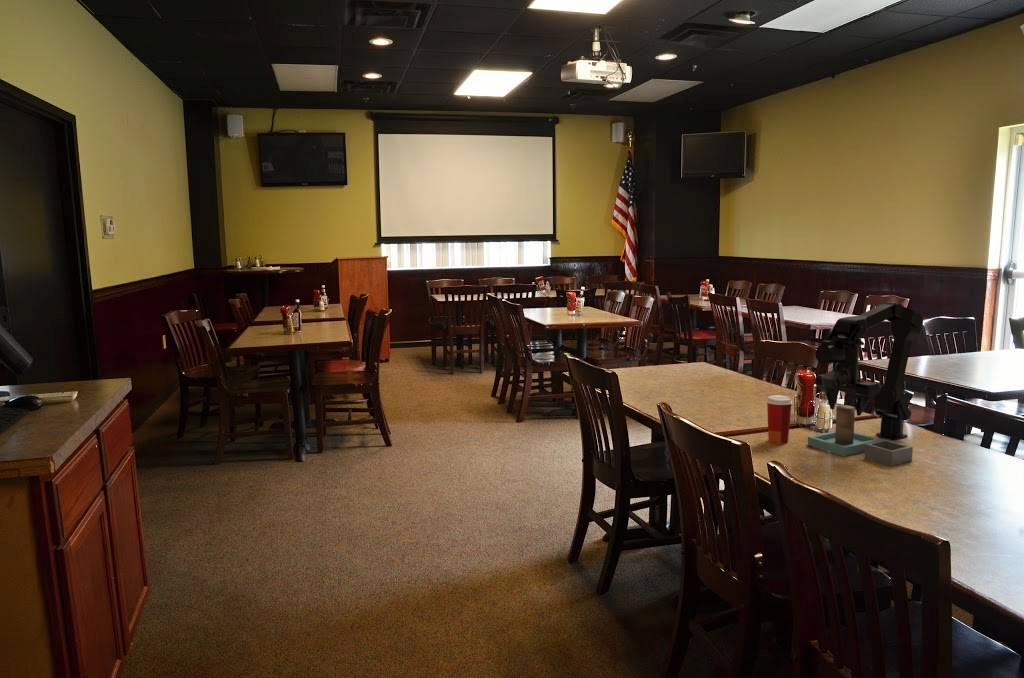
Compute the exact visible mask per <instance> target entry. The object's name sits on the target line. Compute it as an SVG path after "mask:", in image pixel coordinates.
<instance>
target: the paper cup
mask: <svg viewBox="0 0 1024 678" xmlns="http://www.w3.org/2000/svg"><path fill="white" fill-rule="evenodd" d="M765 402H766V409H767V413H766V414H767V433H768V434H767V436H768V437H767V438H768V443H770V442H771V444H774V445H787V444H788V443H789V434H790V426H791V425H790V424H791V415H792V414H791V413H792V412H791V411H792V404H793V403H794V402H793V401H792V398H791V397H789V396H786V395H777V394H776V395H769V396H768V397H767V398H766V400H765Z"/></svg>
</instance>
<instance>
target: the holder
mask: <svg viewBox="0 0 1024 678" xmlns="http://www.w3.org/2000/svg"><path fill="white" fill-rule="evenodd" d="M913 447H914V446H910V445H907V444H903V443H900V442H897V441H892V440H890V439H889V440H888V439H882V440H880V441H876V442H871V443H867V444H865V451H864V452H863V453H864V455H863V457H865V459H868V460H872V461H874V460H875V461H876V462H878V463H882V464H885V465H887V464H888V466H892V467H893V466H896V464H897V465H900V463H901V464H904V463H903V462H905V463H909V462H911V461H913V450H914V448H913ZM908 461H909V462H908Z"/></svg>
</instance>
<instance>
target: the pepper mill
mask: <svg viewBox="0 0 1024 678" xmlns="http://www.w3.org/2000/svg"><path fill="white" fill-rule="evenodd" d="M835 410H836V415H835V431H836V432H835V443H837V444H840V445H851V444H853V439H854V432H855V418H856V417H855V415H856V414H855V413H856V407H855V406H851V405H846V404H845V405H844V404H843V405H842V404H841V405H837V406H836V409H835Z"/></svg>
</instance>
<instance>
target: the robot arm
mask: <svg viewBox="0 0 1024 678" xmlns="http://www.w3.org/2000/svg"><path fill="white" fill-rule="evenodd" d="M884 321H885V322H886V321H888V322H889V323H890V325H889V326H890V327H889V331H890V332H891V334H892V335H891V336H892V337H893V340H892V341H893V342H892V345H891V350H890V355H889V359H888V365H887V367H886V368H887V370H886V374H885V379H884V383H883V384H882V385H881V386H880V384H879V383H877V382H872V381H864V382H861V378H860V377H859V376H858V375H859V374H858V373H859V369H861V368H862V364H860V363H859V352H860V346H864V345H865V343H864V342H863V341H862V340H861V338H862V337H864V336H865V335H866V334H867V333H868V331H869V329H870V328H873V327H874V326H876V325H877V326H878V324H881V323H883V322H884ZM923 324H924V318H923V317H922V315H921V313H919V312H916V311H914V310H913V309H910V308H908V307H905V306H904V305H903V304H902V303H899V302H897V301H896V302H895V301H893V302H892V301H885V302H882V304H880V305H878V306H876V307H873V308H871V309H870V310H867V311H864V312H862V313H861V314H859V315H854V316H851V315H850V316H846V317H841V318H838V319H837V320H836V321H835V323H834V326H833V327H832V329H831V331H830V333H829V335H828V336H827V339H826V340H822V341H821V344H820V345H818V347H817V348H816V350H815V351H814V353H815V358H816V361H817V362H818V363H819V364H821V365H829V364H833V366H832V370H830V371H827V372H826V373H824V374H817V375H816V376H815V378H814V384H815V385H817V387H818V389H821V390H822V391H823V392H824V394H825V396H826V400H827V402H828V406H829V409H831V410H834V409H835V406H836V403H837V396H838V391H839V388H840V387H843V388H847V389H848V388H849V389H853V390H855V391H854V392H856V393H854V396H855V397H856V416H858V417H859V416H861V415H862V413H863V412H864V409H865V408H866V406H867V405H868V403H869V402H870V401H871V399H872V401H873V407H874V408H873V409H874V412H875V416H879V417H881V418H880V419H881V420H880V430H879V432H876V434H875V435H876V436H880V437H883V438H886V439H889V440H899V439H903V438H908V434H905V433H904V421H908V420H910V418H911V415H912V411H911V410H910V408H909V407H908V405H907V404H906V394H905V392H904V389H903V384H904V379H905V375H906V370H907V365H908V360H909V355H910V350H911V347H912V342H913V340H915V339H916V337H918V335H920V334H921V333H920V332H921V329H922V327H923Z"/></svg>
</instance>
